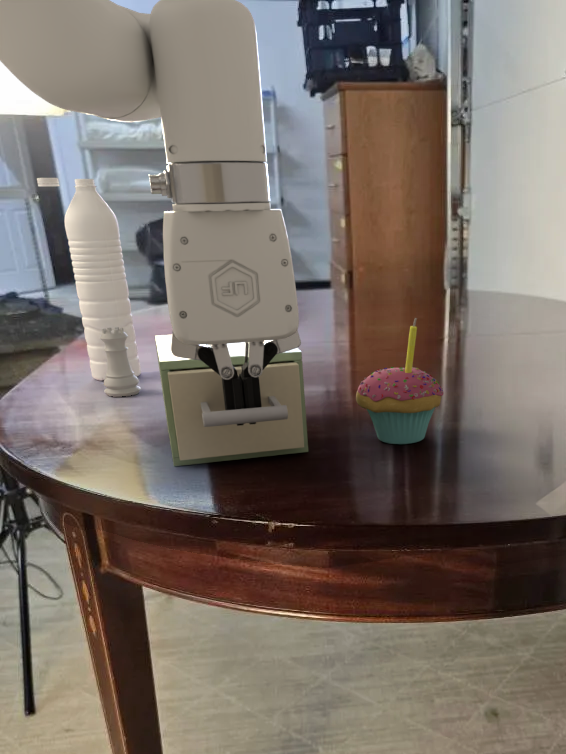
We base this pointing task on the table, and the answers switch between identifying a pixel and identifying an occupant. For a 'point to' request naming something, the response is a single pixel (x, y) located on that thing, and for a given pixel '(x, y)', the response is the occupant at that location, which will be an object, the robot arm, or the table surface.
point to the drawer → (236, 413)
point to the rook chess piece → (118, 365)
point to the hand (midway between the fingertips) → (244, 420)
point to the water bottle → (98, 273)
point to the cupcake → (400, 399)
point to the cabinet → (237, 358)
